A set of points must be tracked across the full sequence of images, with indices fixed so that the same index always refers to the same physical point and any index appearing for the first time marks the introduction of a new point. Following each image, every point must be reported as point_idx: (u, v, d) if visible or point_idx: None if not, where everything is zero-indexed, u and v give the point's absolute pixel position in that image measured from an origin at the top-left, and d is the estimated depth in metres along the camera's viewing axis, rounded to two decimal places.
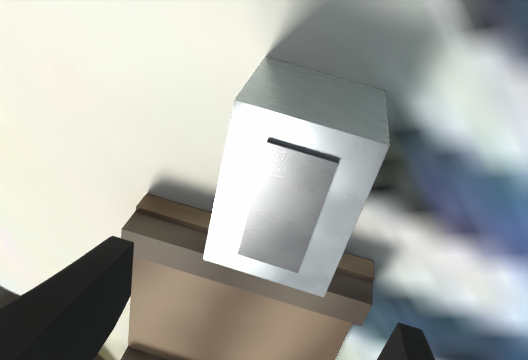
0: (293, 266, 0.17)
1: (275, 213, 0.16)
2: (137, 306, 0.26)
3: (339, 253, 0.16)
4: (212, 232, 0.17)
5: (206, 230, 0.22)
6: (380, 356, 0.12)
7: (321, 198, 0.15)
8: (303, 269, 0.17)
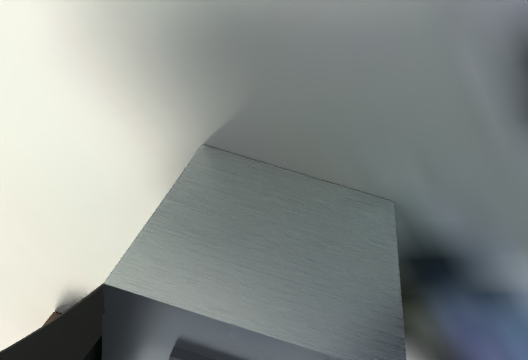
0: None
1: None
2: None
3: None
4: None
5: None
6: None
7: None
8: None
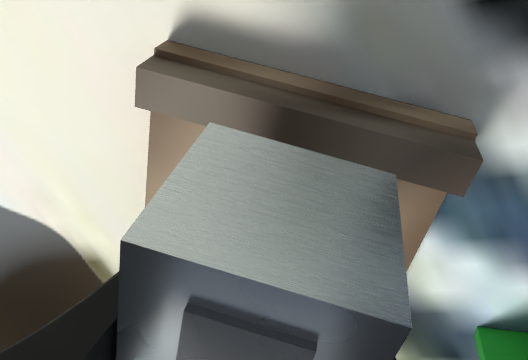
0: None
1: None
2: None
3: None
4: None
5: (249, 77, 0.16)
6: None
7: None
8: None
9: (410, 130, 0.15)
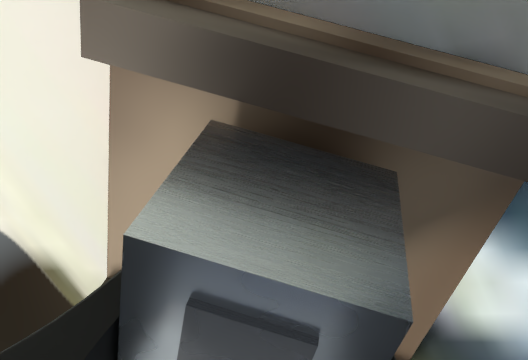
0: None
1: None
2: (119, 200, 0.15)
3: None
4: None
5: (245, 17, 0.11)
6: None
7: None
8: None
9: (480, 92, 0.10)
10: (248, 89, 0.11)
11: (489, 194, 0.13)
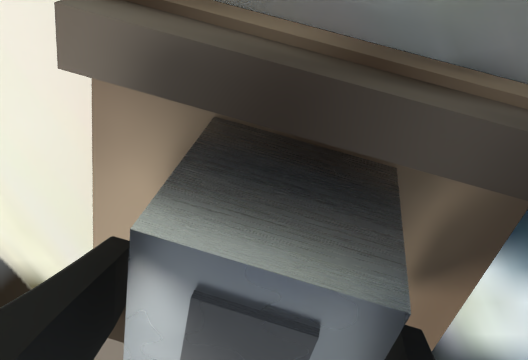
0: None
1: None
2: (105, 216, 0.15)
3: None
4: None
5: (235, 26, 0.11)
6: None
7: None
8: None
9: (488, 107, 0.10)
10: (237, 104, 0.10)
11: (496, 213, 0.12)
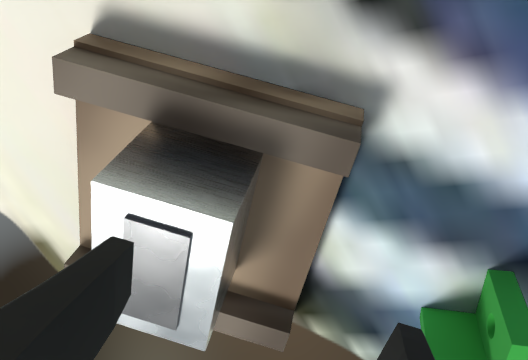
0: (170, 324, 0.18)
1: (144, 278, 0.17)
2: (86, 187, 0.22)
3: (210, 313, 0.17)
4: None
5: (159, 68, 0.18)
6: (380, 356, 0.12)
7: (182, 267, 0.16)
8: (181, 326, 0.18)
9: (300, 117, 0.17)
10: (158, 114, 0.17)
11: (325, 181, 0.19)
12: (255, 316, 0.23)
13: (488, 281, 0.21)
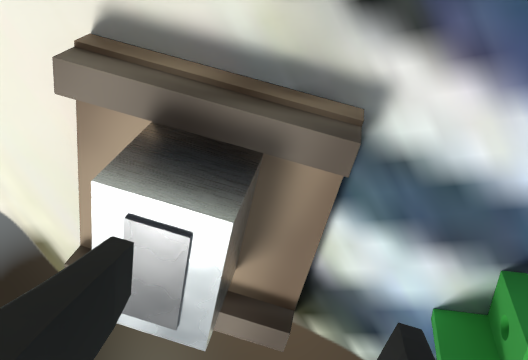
0: (171, 324, 0.18)
1: (145, 278, 0.17)
2: (86, 187, 0.22)
3: (210, 313, 0.17)
4: None
5: (159, 68, 0.18)
6: (380, 356, 0.12)
7: (182, 267, 0.16)
8: (182, 326, 0.18)
9: (300, 117, 0.17)
10: (158, 114, 0.17)
11: (325, 181, 0.19)
12: (255, 316, 0.23)
13: (502, 282, 0.21)
